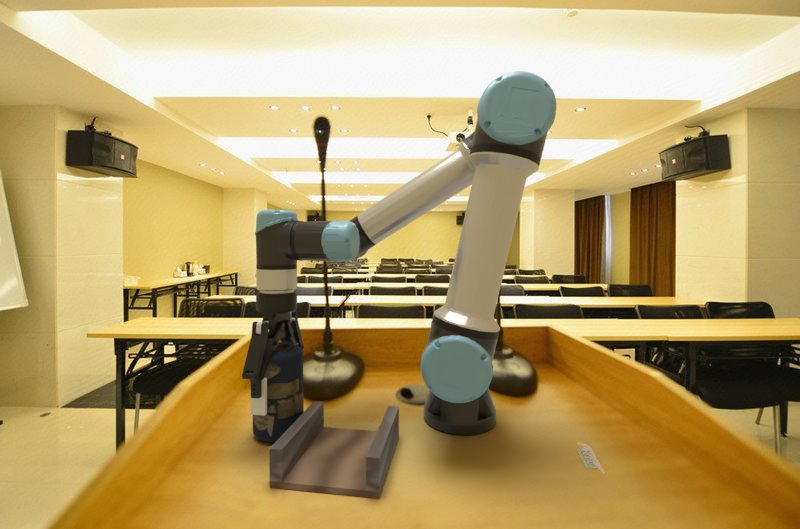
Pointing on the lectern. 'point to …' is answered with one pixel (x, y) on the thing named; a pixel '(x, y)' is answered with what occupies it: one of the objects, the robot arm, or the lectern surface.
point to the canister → (281, 393)
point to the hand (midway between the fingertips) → (277, 399)
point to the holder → (333, 455)
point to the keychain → (589, 457)
